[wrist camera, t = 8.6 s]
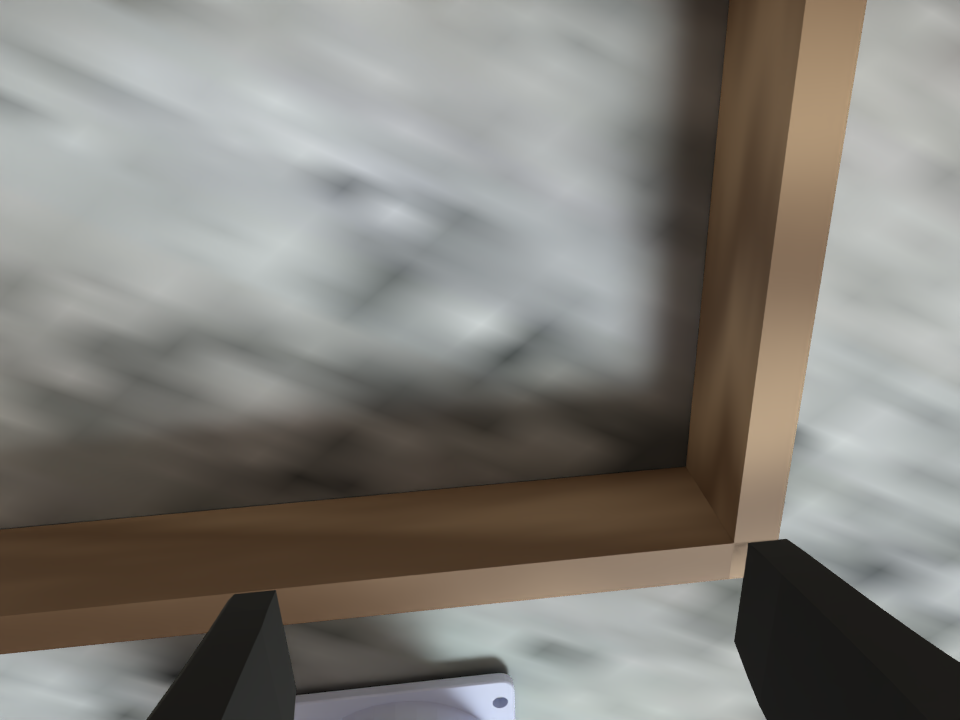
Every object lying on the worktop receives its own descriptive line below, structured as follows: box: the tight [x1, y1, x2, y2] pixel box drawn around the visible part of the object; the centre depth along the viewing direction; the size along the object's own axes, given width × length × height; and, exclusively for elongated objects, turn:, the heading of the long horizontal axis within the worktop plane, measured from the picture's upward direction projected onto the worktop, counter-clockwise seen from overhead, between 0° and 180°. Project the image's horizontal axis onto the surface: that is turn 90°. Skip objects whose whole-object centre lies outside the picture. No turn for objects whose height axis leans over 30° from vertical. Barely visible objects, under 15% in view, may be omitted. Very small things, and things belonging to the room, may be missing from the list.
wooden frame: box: [0, 0, 867, 654], centre depth 17 cm, size 17×22×4 cm
